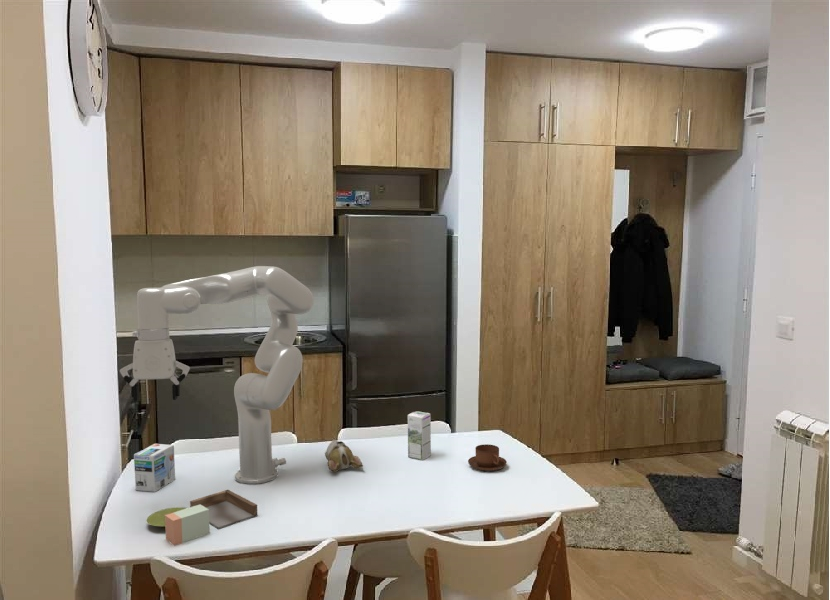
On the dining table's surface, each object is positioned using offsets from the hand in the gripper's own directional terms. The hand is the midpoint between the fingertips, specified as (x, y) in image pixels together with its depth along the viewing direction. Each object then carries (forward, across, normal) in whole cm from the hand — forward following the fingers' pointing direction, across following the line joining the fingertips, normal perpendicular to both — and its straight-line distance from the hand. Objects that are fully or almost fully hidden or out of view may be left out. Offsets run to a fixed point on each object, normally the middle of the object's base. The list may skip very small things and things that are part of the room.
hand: (156, 399), depth 173 cm
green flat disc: (+30, +5, -10) cm, 32 cm away
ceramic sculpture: (+29, +50, +23) cm, 62 cm away
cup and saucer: (+29, +95, +15) cm, 100 cm away
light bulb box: (+30, -5, +19) cm, 36 cm away
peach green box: (+30, +10, -18) cm, 36 cm away
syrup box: (+29, +76, +28) cm, 86 cm away
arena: (+30, +17, -6) cm, 35 cm away
